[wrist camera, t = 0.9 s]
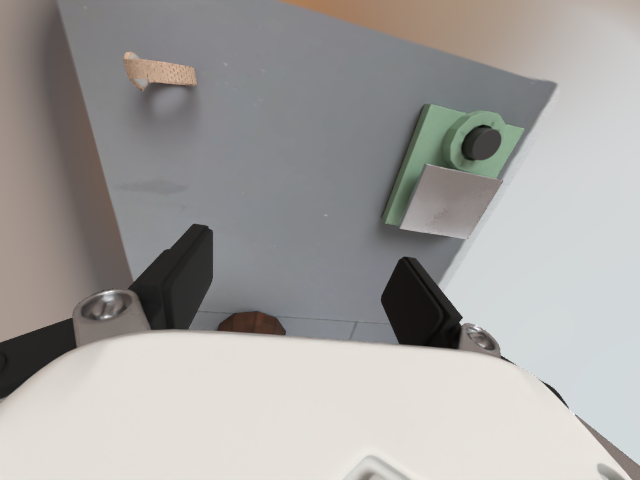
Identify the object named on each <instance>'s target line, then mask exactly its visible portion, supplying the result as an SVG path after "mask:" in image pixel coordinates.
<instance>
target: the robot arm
mask: <svg viewBox="0 0 640 480" xmlns="http://www.w3.org/2000/svg"><path fill="white" fill-rule="evenodd" d="M212 279H213V231H212V230H211V229H209V228H208V226H206V225H199V224H193V225H192V226H191V227H190V228H189V229H188V230H187V231H186V232H185V233H184V234H183V235H182V237H181V238H180V239H179V240H178V241H177V242H176V243H175V244H174V245H173V246H172V247H171V248H170V249H167V250H165V251H163V252H162V253H161V254H160V255H159V256H158V257H157V259H156V260H155V261H154V262H153V263H152V264H151V265H150V266H149V267H148V268H147V269H146V270H145V271H144V272H143V273H142V274H141V275H140V276H139V277H138V278H137V280H136V281H135V282H134V283H133V284H132V285H131V286H130V287H129V288H128V289H122V288H117V289H108V290H103V291H101V292H97V293H94V294H92V295H90V296H89V297H87V298H85V299H83V300H82V301H81V302H80V303H78V304H77V306H76V307H75V308H74V310H73V315H72V317H73V318H70V319H67V320H64V321H61V322H58V323H55V324H53V325H50V326H47V327H44V328H41V329H38V330H35V331H32V332H30V333H27V334H24V335H21V336H18V337H15V338H12V339H9V340H7V341H3V342H1V343H0V480H640V466H639V465H638V464H637V463H635V462H634V461H633V460H631V459H630V458H629V457H628V456H626V455H625V454H624V453H623V452H622V451H620V450H619V449H618V448H617V447H615V446H614V445H613V444H612V443H610V442H609V441H608V440H607V439H605V438H604V437H603V436H602V435H600V434H599V433H598V432H597V431H596V430H594V429H593V428H592V427H591V426H589V425H588V424H587V423H586V422H584V421H583V420H582V419H581V418H579V417H578V416H577V415H574V414H573V413H572V412H571V411H570V410H569V408H568V406H567V404H566V403H565V401H564V400H563V399H562V397H561V396H560V394H559V393H558V392H557V391H556V390H555V389H554V388H552V387H551V386H550V385H548V384H546V383H544V382H542V381H541V380H539V379H538V378H537V377H535V376H534V375H532V374H531V373H529V372H528V371H526V370H524V369H522V368H520V367H518V366H517V365H515V364H514V363H512V362H511V361H509V360H507V359H506V358H504V357H503V356H501V354H500V347H499V345H498V343H497V342H496V340H495V339H494V338H493V337H492V336H491V335H490V334H489V333H487V332H486V331H485V330H483V329H482V328H480V327H478V326H476V325H473V324H470V323H465V324H463V325H462V326H461V325H460V323H459V322H460V320H461V319H462V318H463V317H462V316H461V315H460V313H459V312H458V311H457V310H456V308H455V307H454V306H453V305H452V303H451V302H450V301H449V300H448V298H447V297H446V296H445V295H444V293H443V292H442V291H441V289H440V288H439V287H438V286H437V284H436V283H435V282H434V281H433V279H432V278H431V277H430V276H429V274H428V273H427V272H426V271H425V269H424V268H423V267H422V266H421V264H420V263H419V262H418V260H417V259H416V258H411V257H403V258H402V259H400V260H399V261H398V263H397V265H396V267H395V269H394V271H393V273H392V275H391V277H390V279H389V281H388V284H387V286H386V288H385V290H384V292H383V294H382V296H381V303H382V305H383V307H384V310H385V312H386V314H387V317H388V319H389V321H390V324H391V326H392V328H393V330H394V333H395V335H396V337H397V340H398V342H399V344H390V343H378V342H365V341H352V340H339V339H326V338H312V337H299V336H284V335H270V334H256V333H242V332H225V331H208V330H188V329H189V327H190V325H191V323H192V321H193V319H194V317H195V315H196V313H197V311H198V309H199V307H200V305H201V303H202V301H203V299H204V297H205V295H206V293H207V291H208V289H209V287H210V285H211V282H212Z"/></svg>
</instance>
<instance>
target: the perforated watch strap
mask: <svg viewBox="0 0 640 480" xmlns="http://www.w3.org/2000/svg"><path fill="white" fill-rule="evenodd" d="M123 60H124V64H125V68H126V71H127V74H128V77H129V79H130V81H132V83H133V84H134V85H135V86H136V87H137V88H139V89H141V91H144V88H146V86H147V84H148V82H149V84H151V82H158V83H167V81H168V83H167V84H178V85H191V86H197V81H196V75H195V69H194V68H193V67H188V66H183V65H178V64H172V63H166V62H159V61H152V60H142V59H140V58H139V57H138V56H137V55H136V54H134V53H132V52H126V54H125V56H123ZM152 63H153V64H152ZM156 63H157V64H156ZM164 63H165V65H164ZM160 64H161V65H160ZM157 67H158V68H157Z"/></svg>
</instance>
